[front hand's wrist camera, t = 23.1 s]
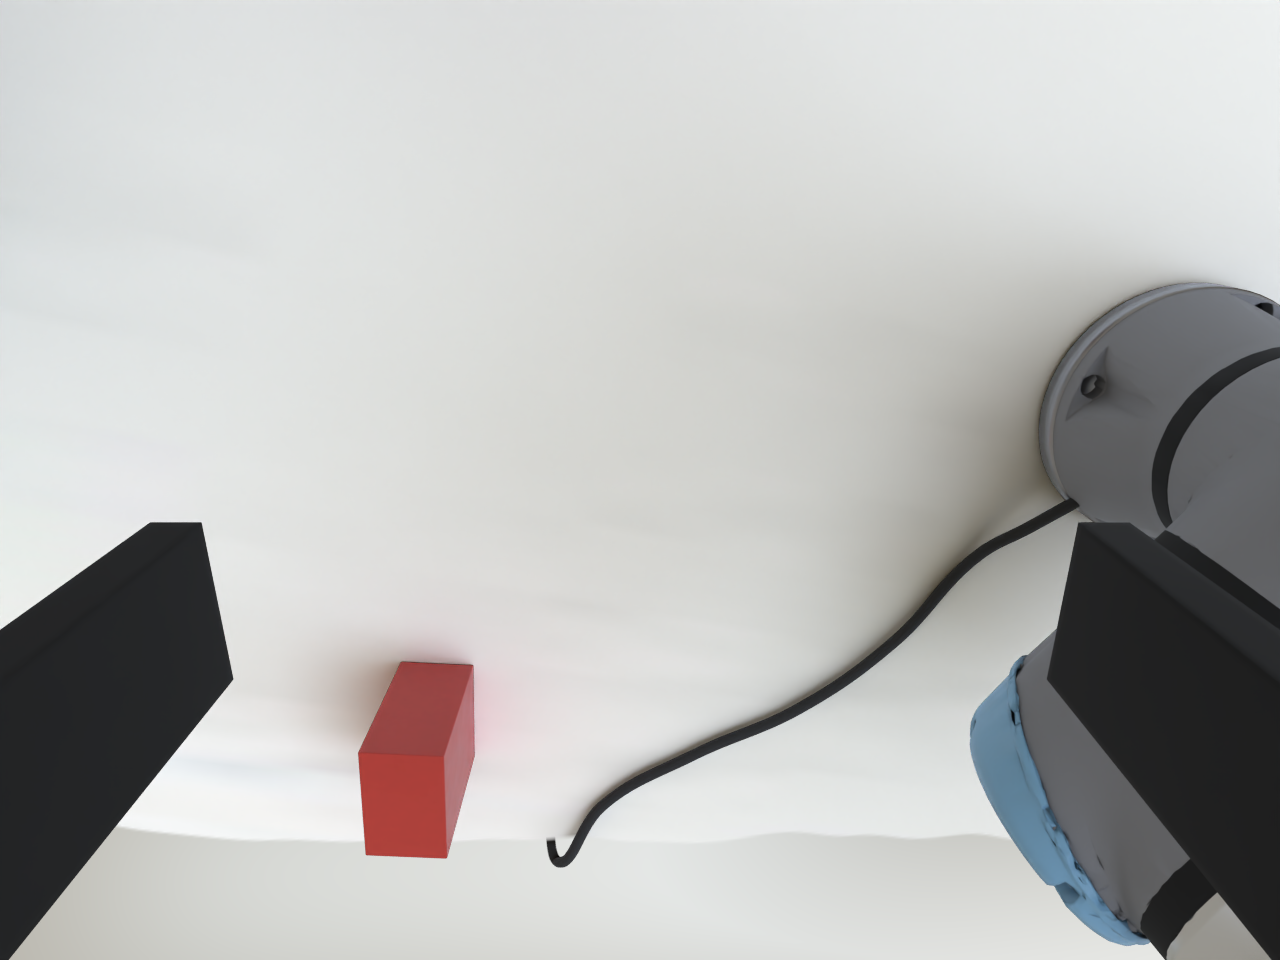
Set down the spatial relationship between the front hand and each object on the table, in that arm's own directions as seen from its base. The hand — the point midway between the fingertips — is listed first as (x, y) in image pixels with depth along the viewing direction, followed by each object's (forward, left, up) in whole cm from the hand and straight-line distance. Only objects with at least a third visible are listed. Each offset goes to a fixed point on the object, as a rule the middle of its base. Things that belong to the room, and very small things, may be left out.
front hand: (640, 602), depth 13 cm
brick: (-25, -20, -37) cm, 49 cm away
